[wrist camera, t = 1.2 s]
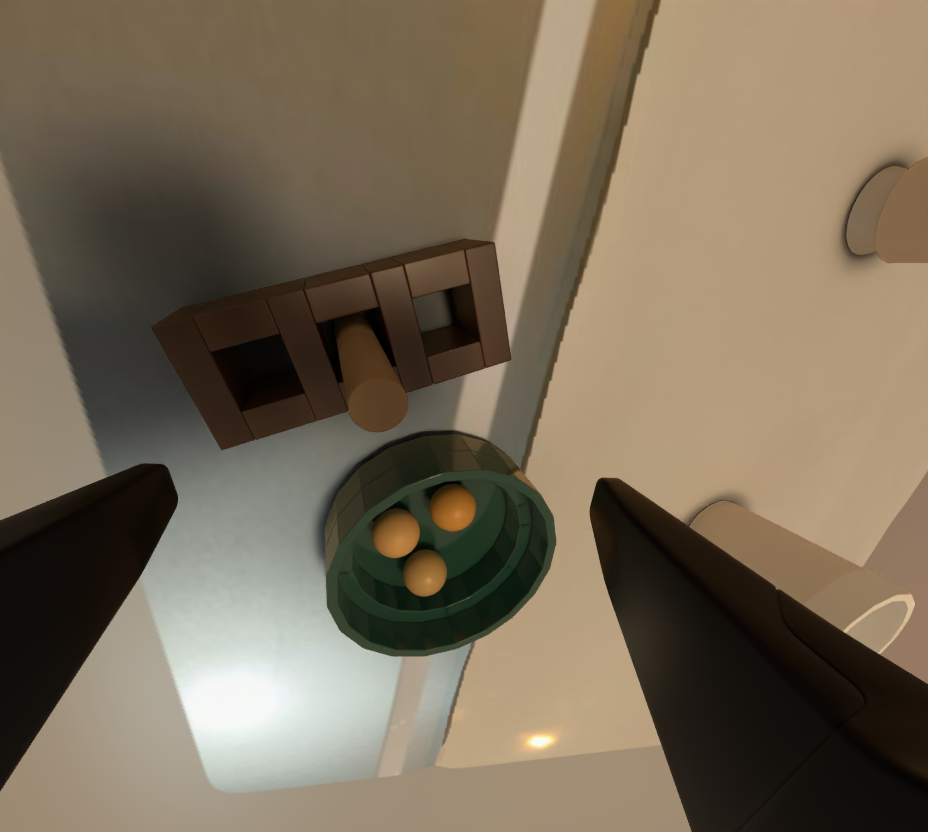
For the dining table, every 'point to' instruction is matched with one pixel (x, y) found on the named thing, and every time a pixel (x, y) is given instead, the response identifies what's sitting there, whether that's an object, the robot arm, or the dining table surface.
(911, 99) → the dining table surface
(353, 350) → the stick
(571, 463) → the dining table surface
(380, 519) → the bead
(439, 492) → the bead
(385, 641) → the bowl
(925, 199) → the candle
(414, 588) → the bead
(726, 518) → the foam cup
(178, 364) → the rack
